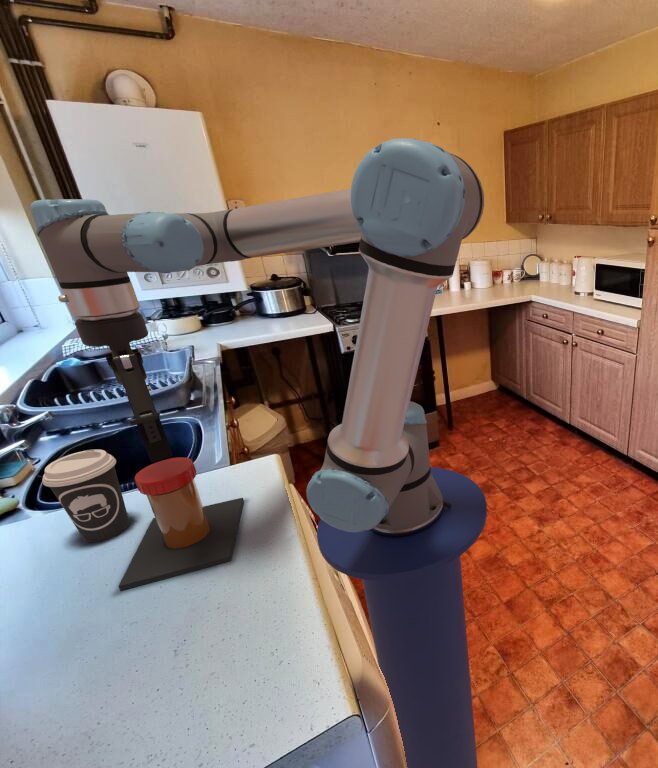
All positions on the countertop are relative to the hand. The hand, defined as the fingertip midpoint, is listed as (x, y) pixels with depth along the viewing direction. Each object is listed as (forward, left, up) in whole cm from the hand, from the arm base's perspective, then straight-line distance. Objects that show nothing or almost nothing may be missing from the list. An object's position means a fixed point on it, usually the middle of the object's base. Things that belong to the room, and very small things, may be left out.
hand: (156, 443), depth 71 cm
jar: (0, 0, -19) cm, 19 cm away
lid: (0, 0, -6) cm, 6 cm away
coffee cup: (+15, -10, -20) cm, 27 cm away
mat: (0, 0, -20) cm, 20 cm away
